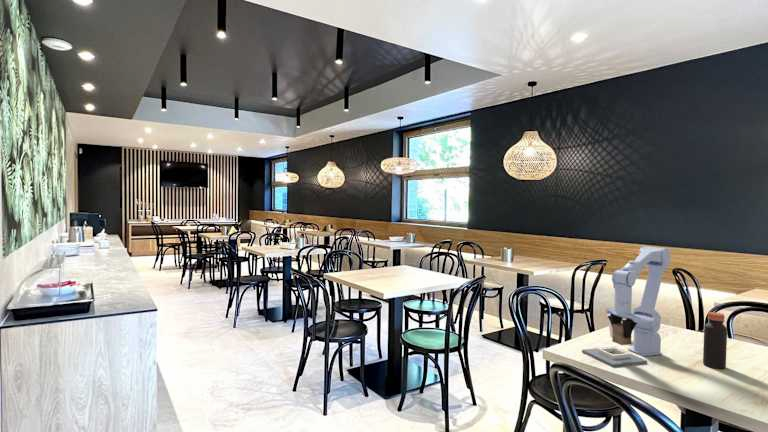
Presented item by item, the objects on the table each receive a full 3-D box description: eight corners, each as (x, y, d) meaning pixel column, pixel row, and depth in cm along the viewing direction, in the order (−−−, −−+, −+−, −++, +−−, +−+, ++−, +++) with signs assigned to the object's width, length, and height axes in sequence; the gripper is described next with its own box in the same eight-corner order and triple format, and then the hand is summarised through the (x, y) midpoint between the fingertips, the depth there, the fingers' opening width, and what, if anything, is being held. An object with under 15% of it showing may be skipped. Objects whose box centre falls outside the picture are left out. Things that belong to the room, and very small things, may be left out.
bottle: (720, 370, 152) (722, 316, 152) (699, 364, 158) (701, 312, 158) (729, 367, 155) (731, 314, 155) (708, 361, 161) (710, 310, 161)
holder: (613, 349, 174) (614, 343, 174) (647, 363, 158) (647, 356, 158) (581, 352, 170) (582, 346, 170) (612, 367, 154) (613, 360, 154)
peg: (621, 340, 164) (622, 323, 164) (631, 344, 159) (631, 326, 159) (612, 341, 163) (612, 323, 162) (621, 345, 158) (622, 327, 158)
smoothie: (624, 339, 187) (625, 308, 187) (609, 338, 188) (610, 307, 188) (619, 334, 194) (620, 305, 193) (605, 333, 195) (605, 304, 194)
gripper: (600, 297, 166) (599, 331, 167) (630, 306, 153) (629, 342, 153) (614, 296, 168) (613, 329, 169) (645, 305, 154) (644, 341, 155)
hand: (621, 335), depth 161 cm, fingers closed on peg, 4 cm apart
